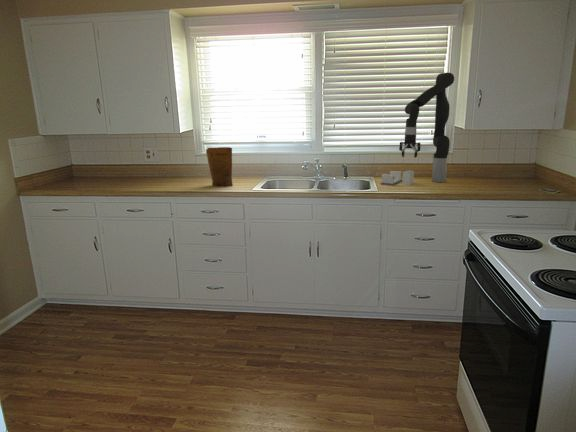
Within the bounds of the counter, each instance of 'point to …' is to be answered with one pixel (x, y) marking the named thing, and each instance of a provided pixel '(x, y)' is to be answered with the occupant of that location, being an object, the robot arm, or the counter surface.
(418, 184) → the counter surface
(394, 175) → the rail
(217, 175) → the pancake mix bag
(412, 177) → the block
